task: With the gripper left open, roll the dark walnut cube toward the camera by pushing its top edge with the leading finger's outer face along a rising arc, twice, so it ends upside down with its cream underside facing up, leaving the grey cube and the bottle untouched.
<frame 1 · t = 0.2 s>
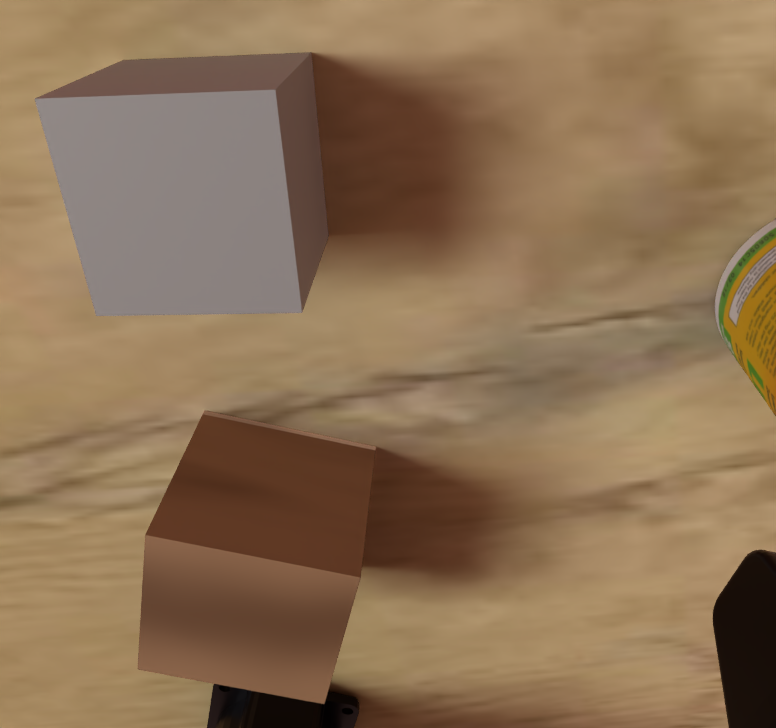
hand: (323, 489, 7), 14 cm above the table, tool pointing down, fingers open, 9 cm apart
walnut cube: (279, 491, 27), on the table
grey cube: (232, 152, 20), on the table
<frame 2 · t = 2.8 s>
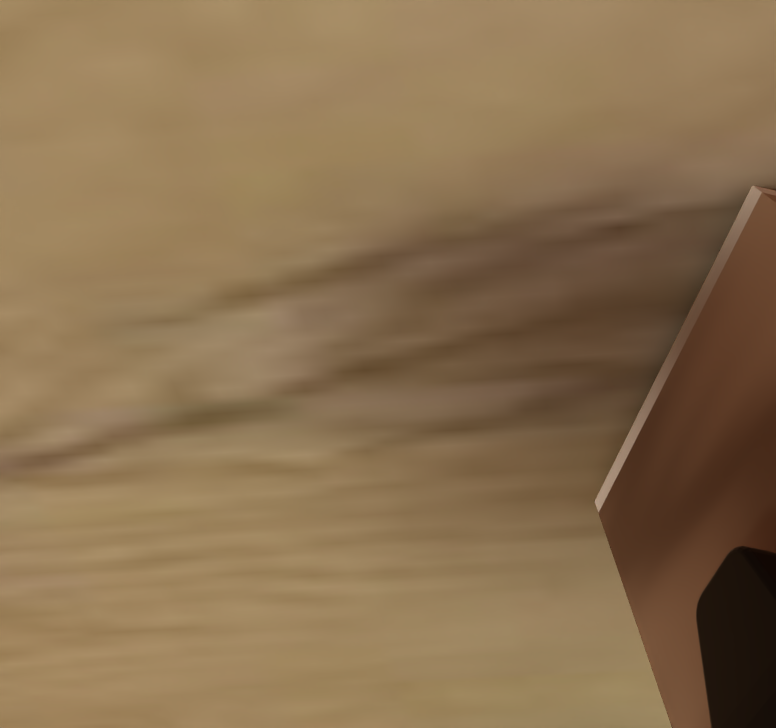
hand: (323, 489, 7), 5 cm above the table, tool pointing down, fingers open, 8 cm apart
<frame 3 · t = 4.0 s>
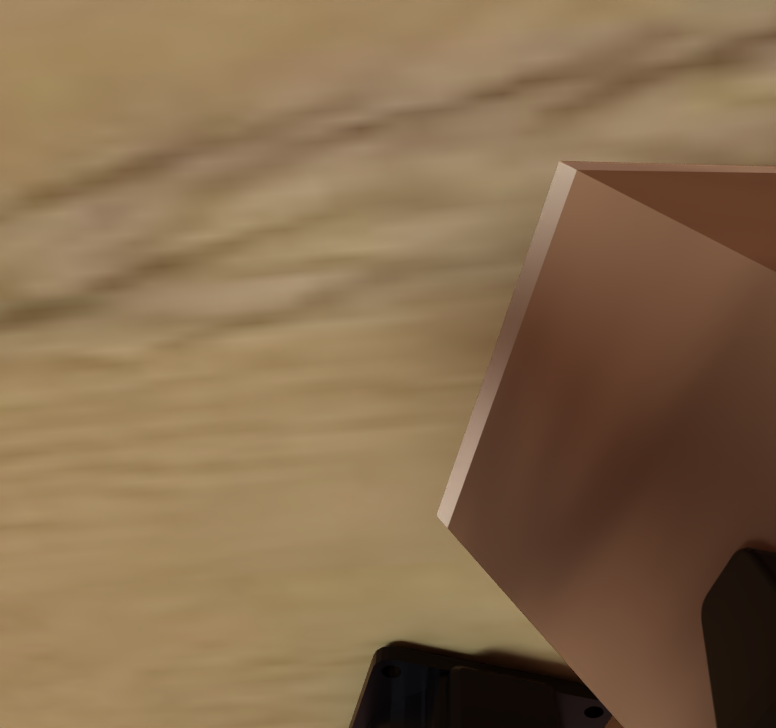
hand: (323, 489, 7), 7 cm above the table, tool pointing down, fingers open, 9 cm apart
walnut cube: (619, 338, 12), point 2 cm above the table, tilted 38°, touching gripper
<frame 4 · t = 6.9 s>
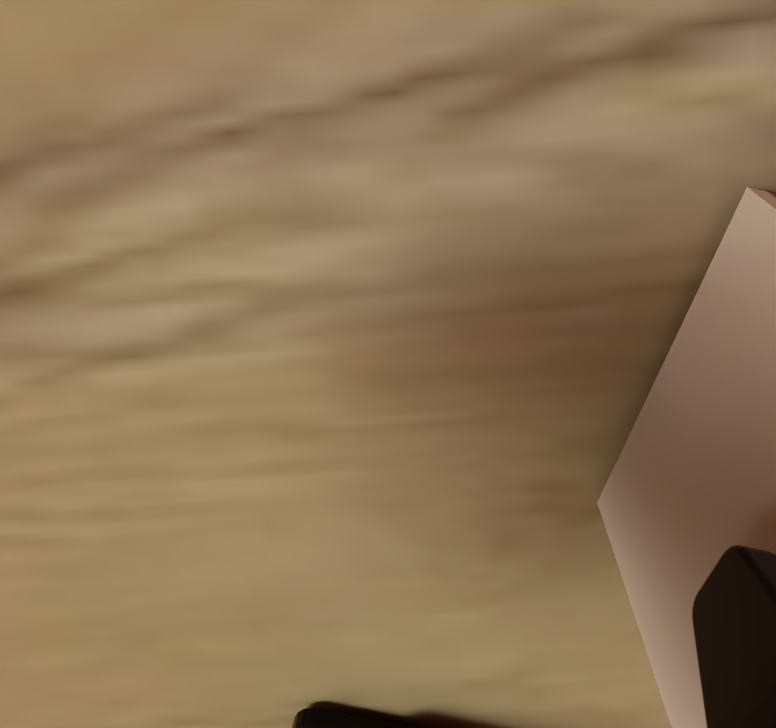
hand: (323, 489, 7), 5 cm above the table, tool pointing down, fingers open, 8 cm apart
walnut cube: (734, 489, 9), point 3 cm above the table, tilted 92°, touching gripper
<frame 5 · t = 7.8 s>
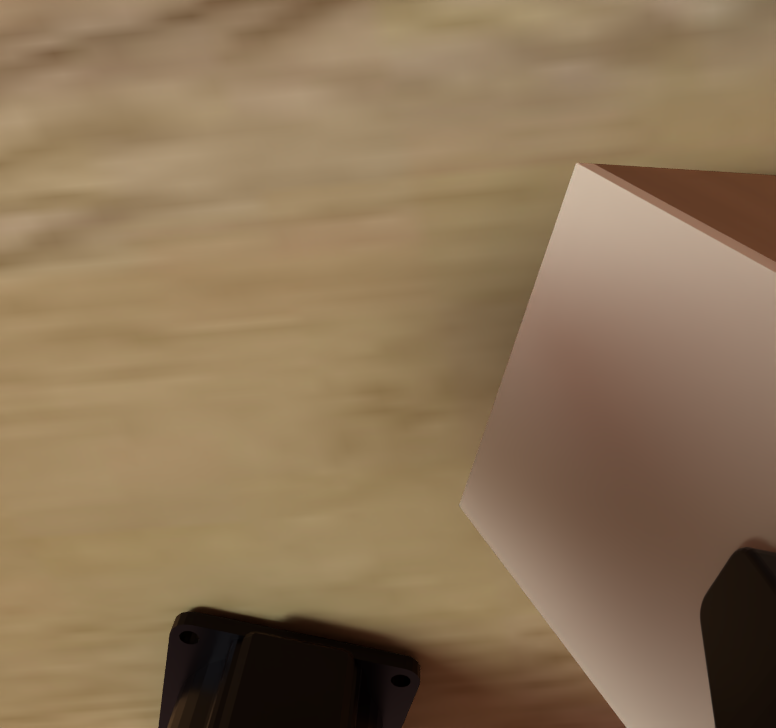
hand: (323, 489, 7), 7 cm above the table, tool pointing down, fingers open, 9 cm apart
walnut cube: (649, 492, 9), point 6 cm above the table, tilted 121°, touching gripper
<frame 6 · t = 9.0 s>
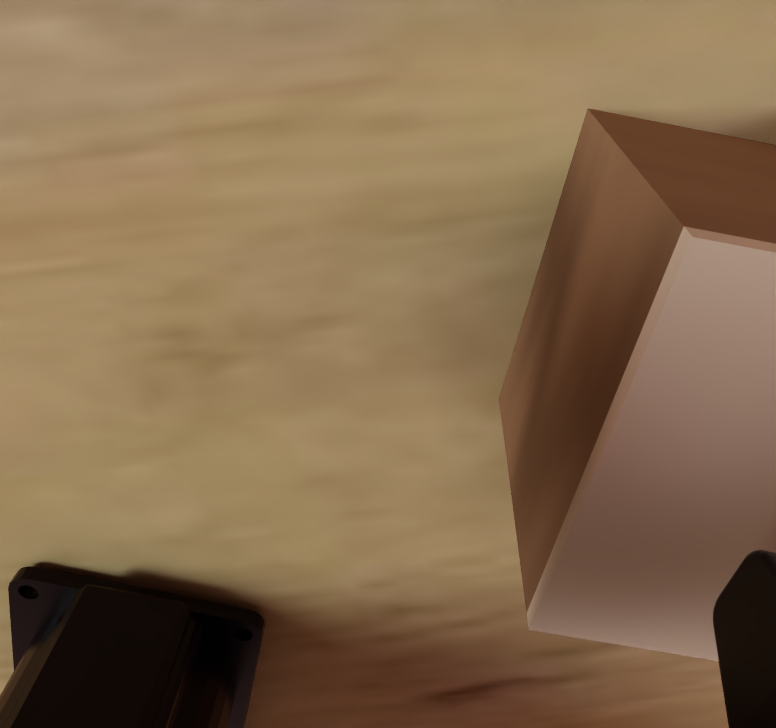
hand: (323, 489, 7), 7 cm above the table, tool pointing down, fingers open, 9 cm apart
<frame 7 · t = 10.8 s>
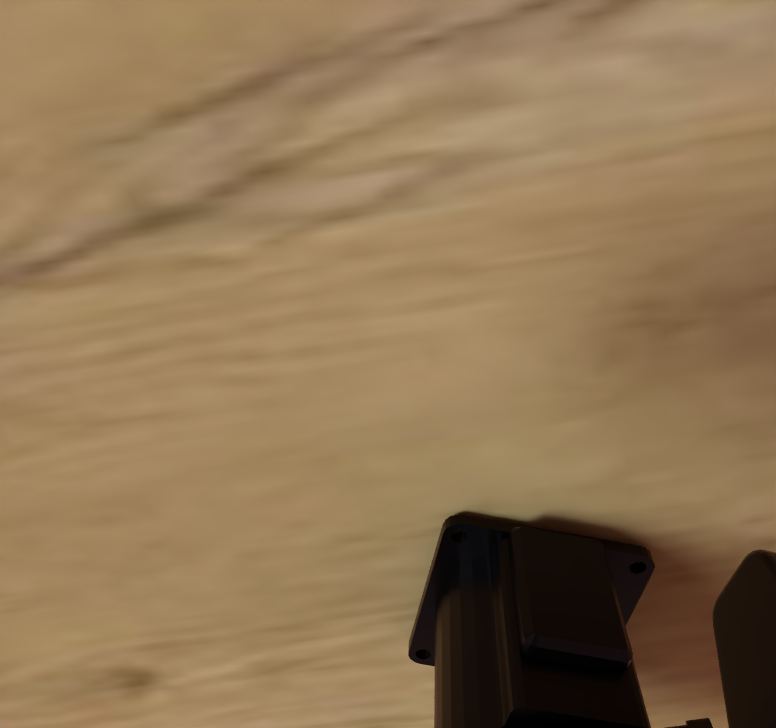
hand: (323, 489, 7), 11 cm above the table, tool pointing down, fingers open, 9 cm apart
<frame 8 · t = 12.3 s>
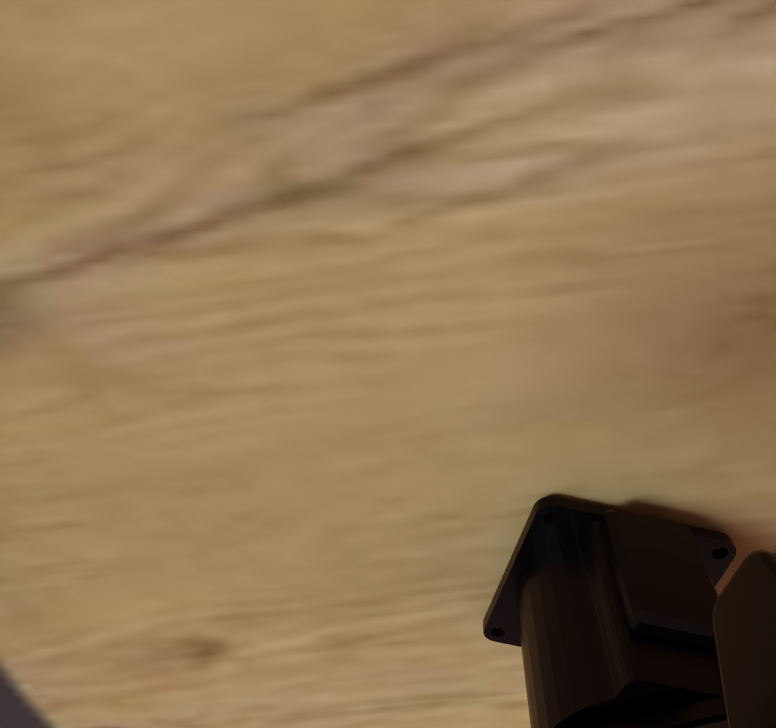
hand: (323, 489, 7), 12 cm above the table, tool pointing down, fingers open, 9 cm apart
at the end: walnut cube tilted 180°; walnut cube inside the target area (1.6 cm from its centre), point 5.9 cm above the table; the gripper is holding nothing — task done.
